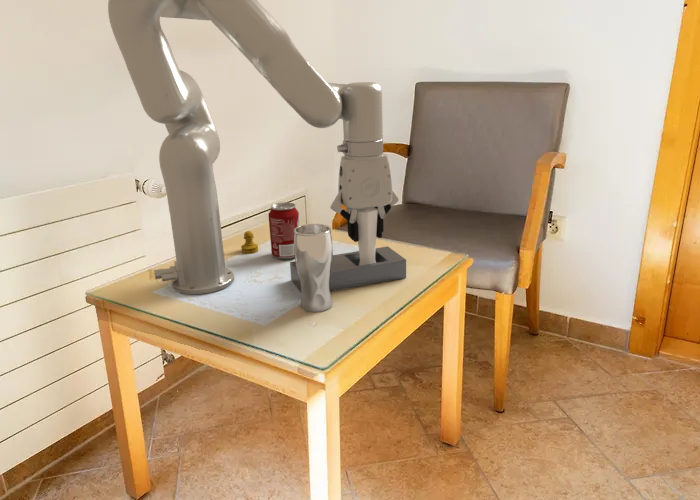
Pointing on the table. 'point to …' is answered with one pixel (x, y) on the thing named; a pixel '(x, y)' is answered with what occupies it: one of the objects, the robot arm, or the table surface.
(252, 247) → the chess piece
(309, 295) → the beer glass
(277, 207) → the soda can
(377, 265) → the grey block with hole
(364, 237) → the perfume bottle
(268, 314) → the table surface
